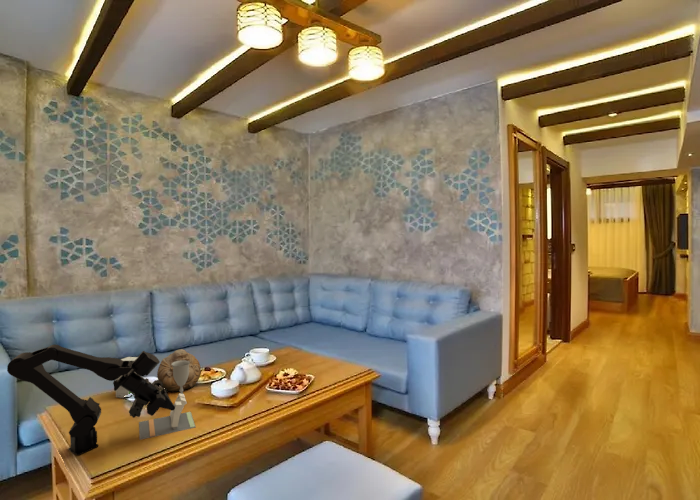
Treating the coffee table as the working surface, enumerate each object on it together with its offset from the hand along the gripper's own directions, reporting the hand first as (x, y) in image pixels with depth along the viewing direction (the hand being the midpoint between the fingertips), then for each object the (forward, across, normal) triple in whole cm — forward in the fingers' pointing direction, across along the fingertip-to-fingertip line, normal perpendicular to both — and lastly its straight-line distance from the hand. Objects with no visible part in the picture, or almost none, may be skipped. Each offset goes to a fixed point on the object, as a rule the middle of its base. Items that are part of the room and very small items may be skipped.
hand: (174, 409), depth 144 cm
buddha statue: (+10, -43, -2) cm, 44 cm away
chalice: (+9, -20, -3) cm, 22 cm away
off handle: (+5, 0, -5) cm, 7 cm away
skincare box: (-5, -44, -16) cm, 47 cm away
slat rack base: (+4, -4, -7) cm, 9 cm away
